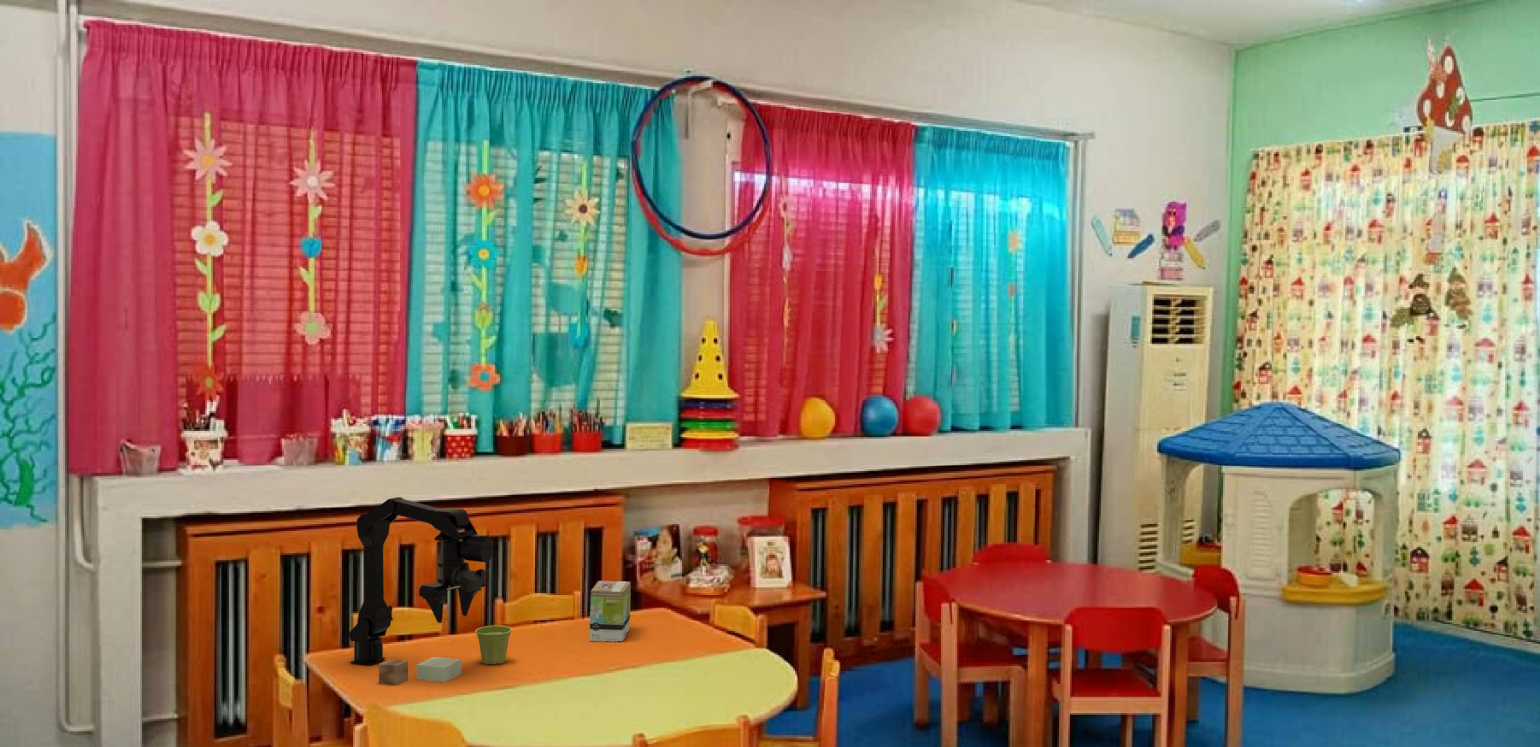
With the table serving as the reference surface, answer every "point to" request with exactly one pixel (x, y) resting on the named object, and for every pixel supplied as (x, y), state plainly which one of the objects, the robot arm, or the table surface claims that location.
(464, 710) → the table surface
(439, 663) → the sage block
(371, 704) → the table surface
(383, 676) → the walnut cube
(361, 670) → the table surface
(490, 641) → the plant pot
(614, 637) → the tea box
